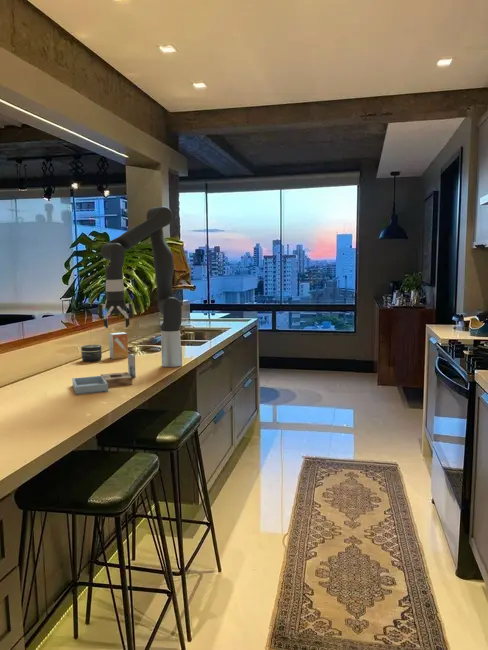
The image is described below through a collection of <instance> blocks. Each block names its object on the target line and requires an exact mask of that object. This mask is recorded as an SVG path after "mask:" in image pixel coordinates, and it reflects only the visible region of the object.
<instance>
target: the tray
mask: <svg viewBox="0 0 488 650" xmlns="http://www.w3.org/2000/svg"><path fill="white" fill-rule="evenodd" d="M72 387H73V391H74V394H75V396H78V395H86V394H88V395H89V394H99V393H107V392H109V387H108V383H107V382H106V380H105V378H104V379H103V377H102V376H101V375H97V376H83V377H82V376H81V377H73V378H72Z"/></svg>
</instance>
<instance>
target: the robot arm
mask: <svg viewBox="0 0 488 650" xmlns="http://www.w3.org/2000/svg"><path fill="white" fill-rule="evenodd" d="M173 219H174V218H173V212H172V210H171V209H170V208H169V207H167V206H165V205H163V206H155V207H151V208H149V209H148V211H147V212H146V220H145V221H143V222H141V223H138V224H137V225H135V226H132V227H131V228H129V229H128V230H126V231H125V232H124V233H122V234H121V235H119V236H118V237H116V238H114V239H112V240H110V241H108V242H106V243H105V244H104V245H102V247H101V250H100V254H101V256H102V258H103V259H104V260H107V261H110V262H109V265H107V266H106V267H105V294H106V296H105V297H106V304H105V303H100V304H99V305H98V317H99V319H103V326H104V327H105V328H106V329H108V328H109V319H108V317H109V316H110V315H111V314H112V315H113V314H114V315H115V314H118V315H119V314H122V315H123V316H124V318H125V328H128V327H129V326H130V318H132V317H133V316H134V309H133V308H134V307H133V303H132V302H130V303H129V302H128V303H126V302H125V288H124V287H125V286H124V279H123V278H124V275H123V268H124V263H125V258H126V252H125V251H129V250H131V249H133V248H134V247H135V246H136V245H138V244H139V243H140V242H141V241H144V239H146V238H147V237H149V236H150V243H151V249H152V250H151V251H152V256H153V259H152V260H153V267H154V273H155V281H156V289H157V290H156V291H157V308H158V311H159V312H160V313H161V315H163V316H162V317H163V318H162V319H163V320H162V324H161V325H160V343H161V344H160V346H161V347H160V348H161V349H160V350H161V353H160V354H161V367H165V368H177V367H181V366H183V346H182V345H181V325H182V321H183V320H182V315H183V314H182V313H183V312H182V310H183V308H182V303H181V301H180V300H179V299H178V298H176V297H174V293H173V286H172V285H173V279H174V274H175V262H174V254H173V252H172V251H171V249H170V247H169V245H168V243H167V242H166V240H165V237H164V232H163V228H165V227H167V226H169V225H170V224H171V223H172V222H173ZM105 308H106V309H107V312H106V313H105V315H104V309H105ZM125 308H127V309H128V310H129V313H127V311H126V310H125Z"/></svg>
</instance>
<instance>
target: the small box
mask: <svg viewBox="0 0 488 650" xmlns="http://www.w3.org/2000/svg"><path fill="white" fill-rule="evenodd" d="M108 341H109V343H108V344H109V345H108V346H109V358H111V359H113V360H118V359H128V354H129V338H128V333H127V332H124V331H122V332H111V333H108Z"/></svg>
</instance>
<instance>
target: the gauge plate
mask: <svg viewBox="0 0 488 650" xmlns="http://www.w3.org/2000/svg"><path fill="white" fill-rule="evenodd" d="M100 376H102V377H103V379H104V378H105V380H106V382H107V383H108V388H109V387H120V386H121V387H122V386H130V385H133V380H132V379H133V378H132V377H131V376H130V375H129V374H128V372H127V371H126V372H125V371H124V372H114V373H103V374H100Z"/></svg>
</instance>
